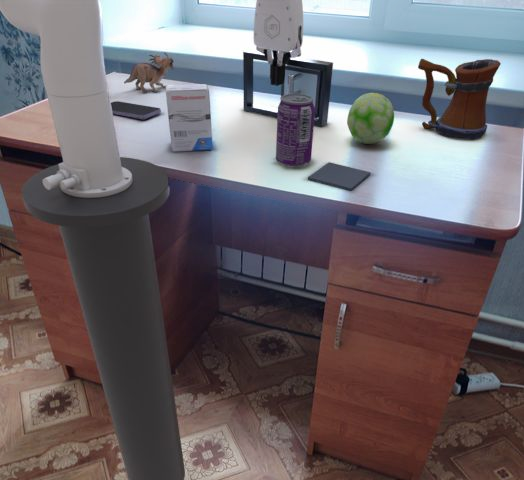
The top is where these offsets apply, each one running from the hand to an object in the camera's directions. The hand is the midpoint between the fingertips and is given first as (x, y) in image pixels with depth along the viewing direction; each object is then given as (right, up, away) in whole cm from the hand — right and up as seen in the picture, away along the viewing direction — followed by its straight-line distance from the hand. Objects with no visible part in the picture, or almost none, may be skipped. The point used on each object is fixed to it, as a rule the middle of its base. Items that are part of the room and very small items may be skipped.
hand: (277, 83), depth 114 cm
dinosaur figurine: (-34, +11, +25) cm, 44 cm away
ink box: (-18, -17, -7) cm, 26 cm away
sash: (+4, -5, +5) cm, 8 cm away
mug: (+39, -9, +4) cm, 41 cm away
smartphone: (-36, -2, +10) cm, 37 cm away
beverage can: (+3, -22, -12) cm, 26 cm away
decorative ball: (+20, -15, -3) cm, 25 cm away
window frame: (+2, -3, +9) cm, 10 cm away
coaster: (+11, -27, -17) cm, 34 cm away
